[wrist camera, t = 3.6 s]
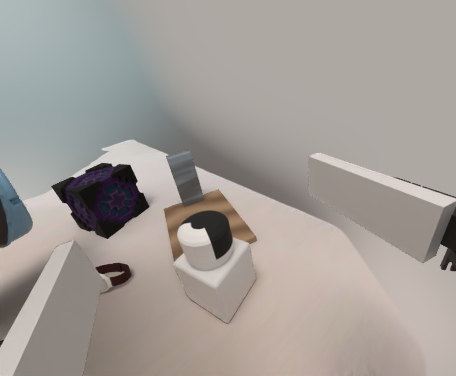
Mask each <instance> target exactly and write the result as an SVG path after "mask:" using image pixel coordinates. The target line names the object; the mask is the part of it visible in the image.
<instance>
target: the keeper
mask: <svg viewBox="0 0 456 376" xmlns="http://www.w3.org/2000/svg"><path fill="white" fill-rule="evenodd" d="M166 158H167V161H168V163H169V166H170V169H171V172H172V175H173V178H174V180H175V183H176V186H177V189H178V192H179V194H180V197H181V200H182V203H179V204H177V205H174V206H171V207H168V208H165V209H164V212H165V217H166V222H167V227H168V232H169V237H170V243H171V248H172V253H173V258H174V262H175V261H176V260H177V259H178V258H179V257H180V256H181V255H182V254H183V253H184V252H183V250H182V247H181V245H180V242H179V240H178V237H177V232H178V229H179V227H180V225H181V224H182V222H183V221H184V220H185V219H187V218H188V217H189V216H191V215H193V214H195V213H198V212H201V211H207V210H213V211H218V212H221V213H222V214H224V215H225V216H226V217H227V218H228V220H229V225H230V229H231V233H232V237H234V238H236V239H239V240H242V241H245V242H248V243H249V244H251V243H253V242H255V241H257V240H256V236H255V235H254V233H253V232H252V231H251V230H250V228H249V227H248V226H247V225H246V223H245V222H244V221H243V220H242V218H241V217H240V216H239V214H238V213H237V212H236V211H235V209H234V208H233V207H232V206H231V204H230V203H229V202H228V201H227V199H226V198H225V197H224V196H223V194H222V193H221V192H220V191H219V190H216V191H213V192H210V193H207V194H205V195H203V193H202V190H201V186H200V183H199V179H198V176H197V172H196V169H195V166H194V162H193V159H192V155H191V152H190V151H189V150H185V151H182V152H179V153H175V154H172V155H169V156H166Z"/></svg>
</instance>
